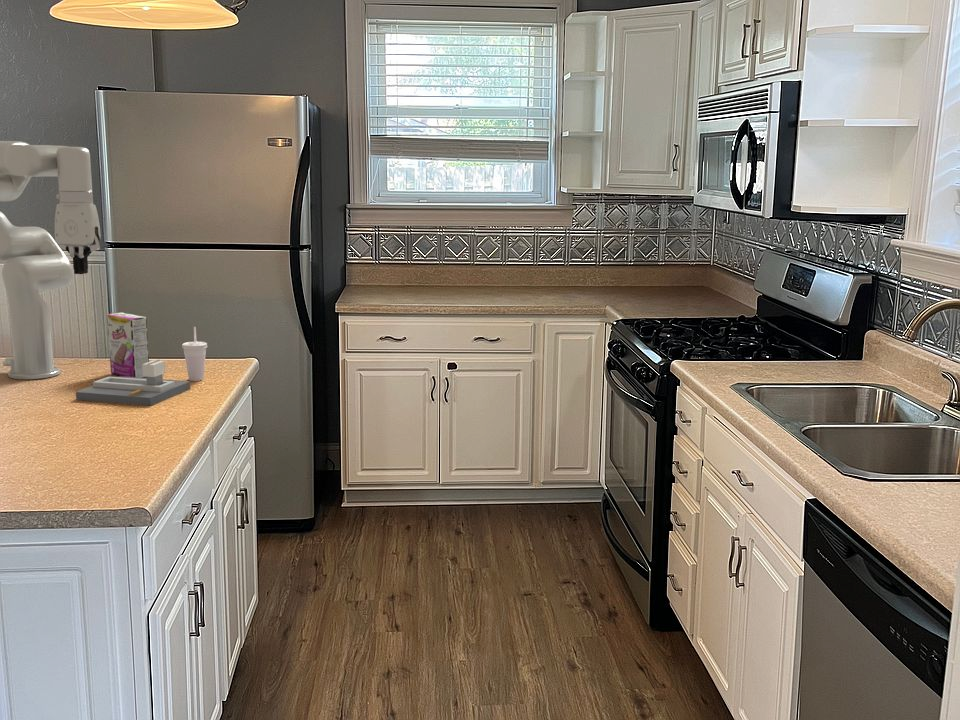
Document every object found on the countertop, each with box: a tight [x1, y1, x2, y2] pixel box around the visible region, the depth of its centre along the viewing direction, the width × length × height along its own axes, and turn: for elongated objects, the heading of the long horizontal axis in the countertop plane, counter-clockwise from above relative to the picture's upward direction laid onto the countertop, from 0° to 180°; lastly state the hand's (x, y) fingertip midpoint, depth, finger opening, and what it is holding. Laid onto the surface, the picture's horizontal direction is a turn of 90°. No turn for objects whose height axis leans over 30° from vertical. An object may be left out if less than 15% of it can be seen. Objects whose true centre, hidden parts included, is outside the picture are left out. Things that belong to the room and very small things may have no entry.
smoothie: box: [181, 326, 208, 382], centre depth 252 cm, size 6×6×14 cm
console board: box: [75, 375, 191, 407], centre depth 236 cm, size 20×18×3 cm
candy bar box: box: [106, 312, 150, 378], centre depth 255 cm, size 11×5×16 cm, turn 54°
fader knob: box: [142, 359, 166, 386], centre depth 234 cm, size 3×5×6 cm, turn 167°
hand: (81, 273), depth 237 cm, fingers closed
